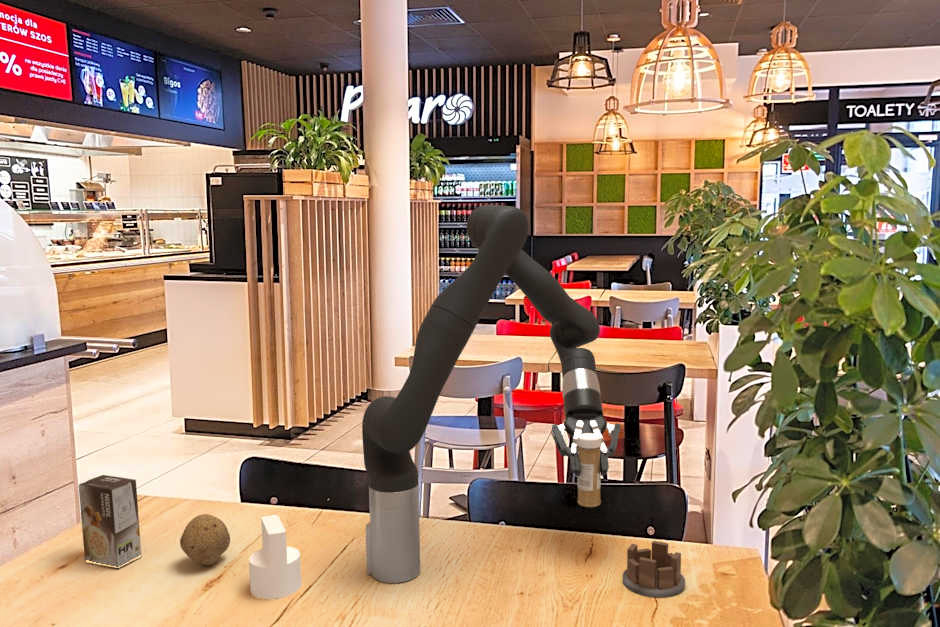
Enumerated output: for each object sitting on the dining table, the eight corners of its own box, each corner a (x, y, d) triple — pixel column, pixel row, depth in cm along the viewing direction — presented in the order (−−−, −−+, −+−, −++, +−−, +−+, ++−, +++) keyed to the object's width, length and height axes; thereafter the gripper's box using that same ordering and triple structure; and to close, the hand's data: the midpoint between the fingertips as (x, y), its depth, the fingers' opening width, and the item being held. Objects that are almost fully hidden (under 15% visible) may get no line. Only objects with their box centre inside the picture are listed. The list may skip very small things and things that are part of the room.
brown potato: (171, 571, 148) (167, 521, 147) (199, 552, 157) (196, 504, 155) (212, 577, 146) (209, 526, 144) (239, 557, 154) (236, 508, 153)
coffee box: (143, 557, 155) (138, 479, 153) (118, 570, 149) (112, 489, 147) (108, 550, 158) (103, 473, 156) (82, 563, 153) (76, 484, 151)
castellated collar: (614, 589, 139) (614, 556, 138) (633, 564, 148) (633, 534, 148) (676, 602, 134) (677, 569, 133) (691, 576, 143) (692, 545, 142)
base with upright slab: (247, 582, 144) (244, 519, 142) (296, 573, 147) (293, 511, 146) (254, 603, 135) (251, 537, 134) (305, 593, 139) (303, 529, 137)
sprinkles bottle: (605, 504, 149) (606, 436, 147) (588, 509, 146) (588, 440, 145) (589, 497, 153) (589, 430, 151) (571, 502, 150) (572, 434, 148)
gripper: (547, 386, 154) (554, 465, 144) (619, 386, 154) (631, 464, 144) (545, 406, 160) (551, 483, 150) (614, 405, 160) (625, 482, 150)
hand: (590, 473), depth 147 cm, fingers closed on sprinkles bottle, 4 cm apart
